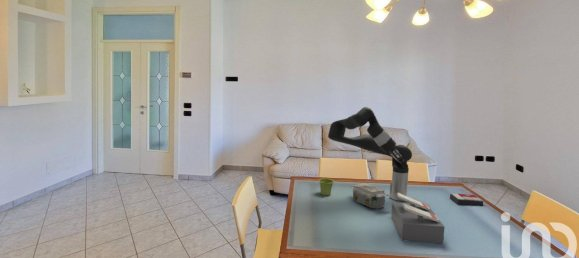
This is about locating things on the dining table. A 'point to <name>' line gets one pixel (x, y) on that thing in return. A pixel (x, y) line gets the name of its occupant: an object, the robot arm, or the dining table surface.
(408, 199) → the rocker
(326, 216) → the dining table surface
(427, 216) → the rocker
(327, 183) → the plant pot
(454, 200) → the calculator
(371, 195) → the grey boxy piece
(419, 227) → the rocker switch panel
